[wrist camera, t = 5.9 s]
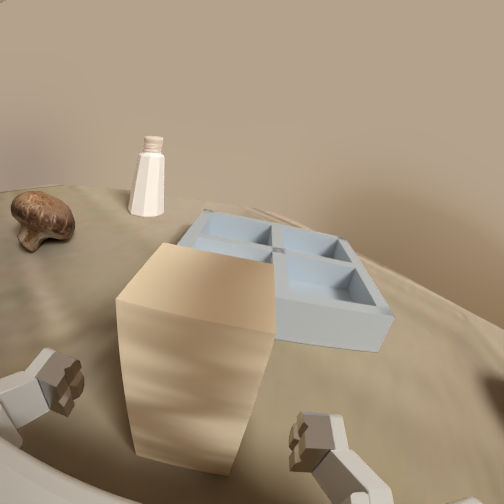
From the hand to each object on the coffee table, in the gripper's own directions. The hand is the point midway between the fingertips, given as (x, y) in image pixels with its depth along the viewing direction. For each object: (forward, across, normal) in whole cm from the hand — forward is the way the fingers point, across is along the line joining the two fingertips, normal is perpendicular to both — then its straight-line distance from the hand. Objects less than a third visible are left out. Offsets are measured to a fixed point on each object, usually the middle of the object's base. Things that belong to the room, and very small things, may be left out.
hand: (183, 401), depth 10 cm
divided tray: (+20, -4, +5) cm, 21 cm away
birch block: (+2, 0, +5) cm, 5 cm away
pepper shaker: (+34, +14, +5) cm, 37 cm away
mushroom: (+18, +20, +5) cm, 28 cm away
